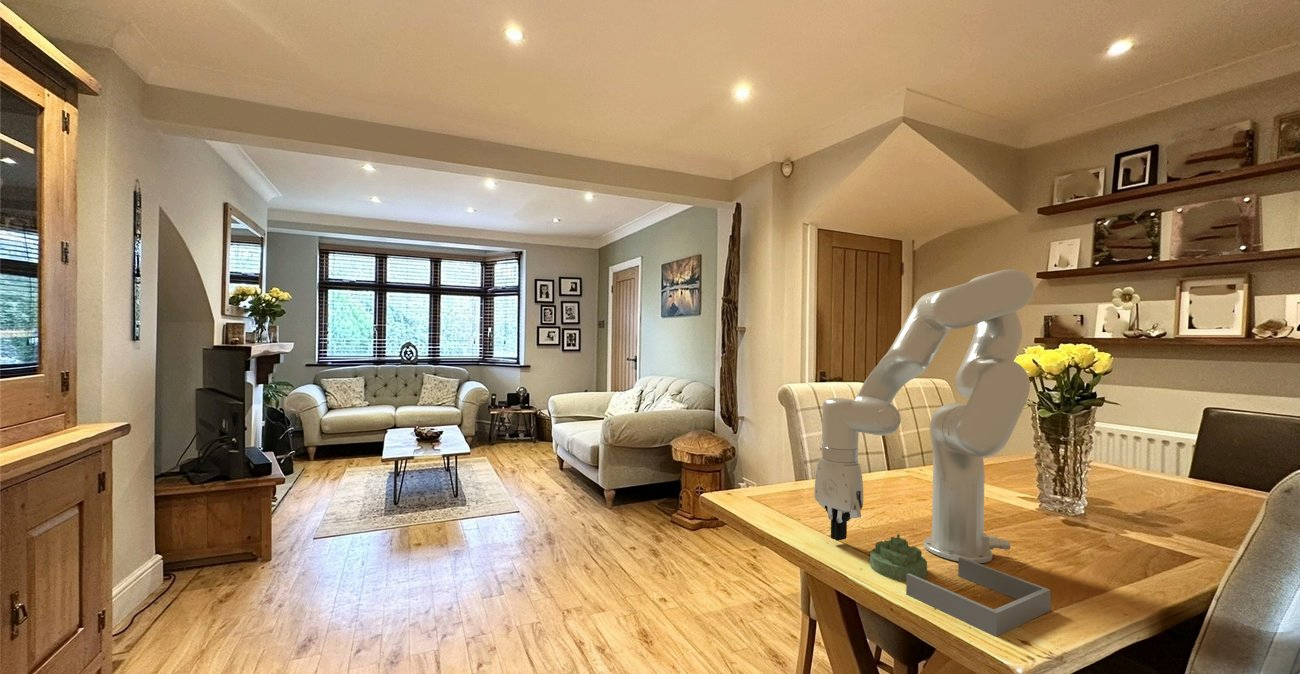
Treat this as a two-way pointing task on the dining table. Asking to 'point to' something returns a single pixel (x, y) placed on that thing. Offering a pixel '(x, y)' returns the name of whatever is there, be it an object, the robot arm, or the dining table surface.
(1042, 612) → the box
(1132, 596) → the dining table surface
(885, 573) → the decorative artifact
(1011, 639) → the dining table surface
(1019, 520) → the dining table surface
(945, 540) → the robot arm
